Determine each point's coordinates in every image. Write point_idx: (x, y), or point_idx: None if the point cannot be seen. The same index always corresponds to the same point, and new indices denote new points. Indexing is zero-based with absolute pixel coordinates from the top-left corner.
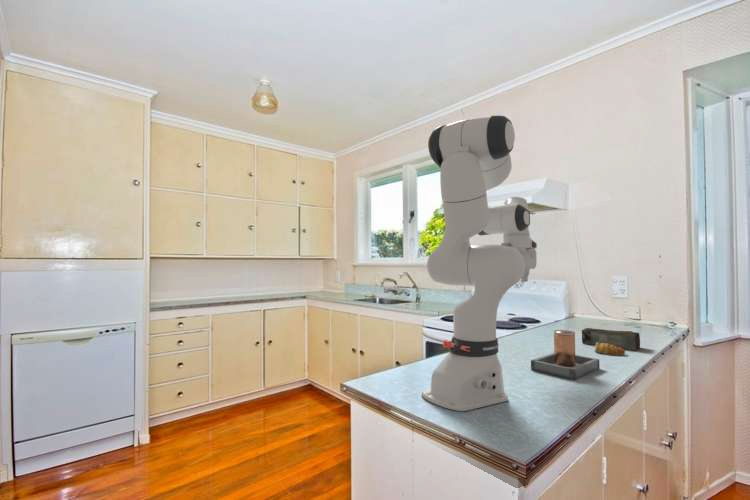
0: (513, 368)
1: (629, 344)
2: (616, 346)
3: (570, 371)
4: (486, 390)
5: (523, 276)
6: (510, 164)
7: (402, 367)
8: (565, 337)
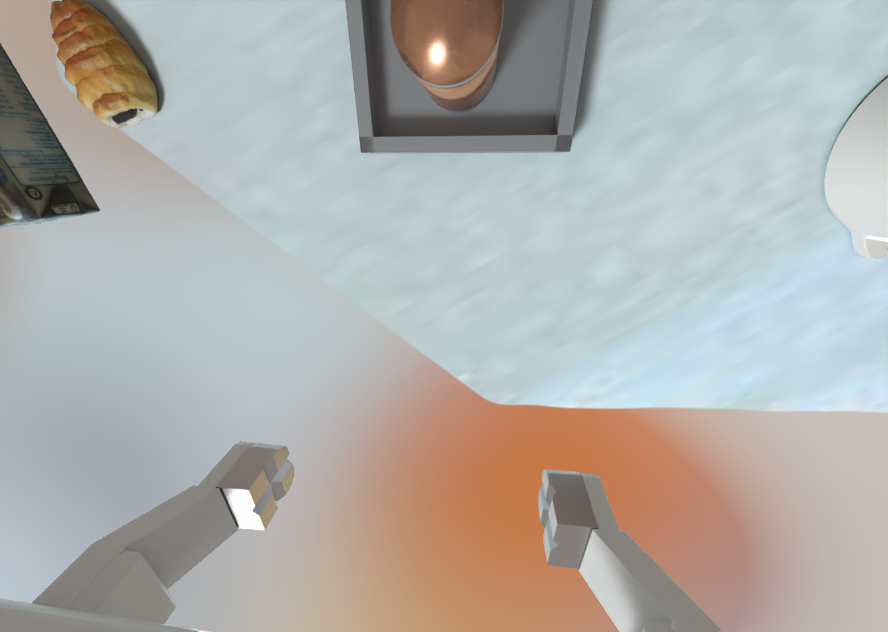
0: (585, 202)
1: None
2: (59, 35)
3: None
4: None
5: (231, 520)
6: None
7: (782, 409)
8: None
